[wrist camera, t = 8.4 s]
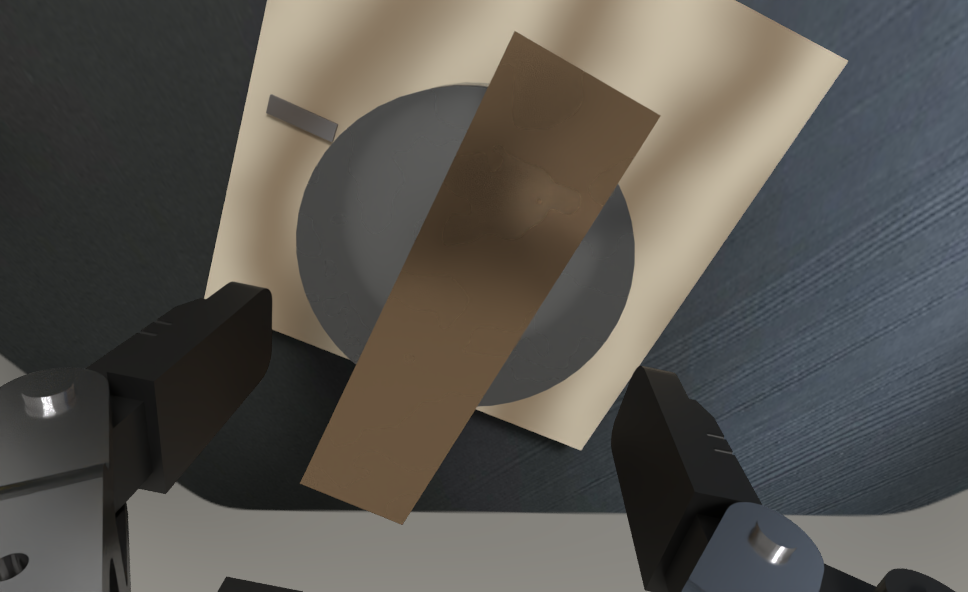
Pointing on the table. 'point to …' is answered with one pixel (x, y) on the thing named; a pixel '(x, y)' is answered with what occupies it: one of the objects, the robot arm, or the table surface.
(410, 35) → the mounting board
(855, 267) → the table surface
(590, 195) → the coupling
